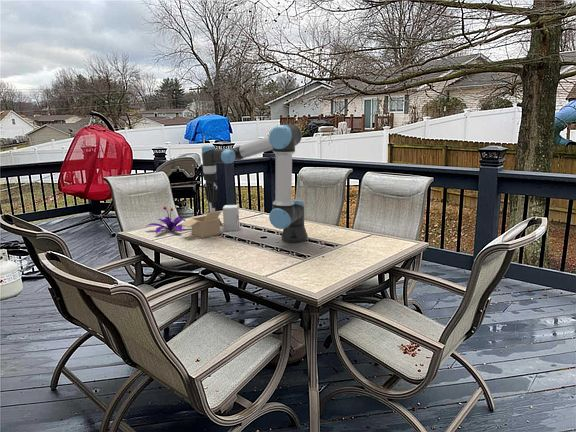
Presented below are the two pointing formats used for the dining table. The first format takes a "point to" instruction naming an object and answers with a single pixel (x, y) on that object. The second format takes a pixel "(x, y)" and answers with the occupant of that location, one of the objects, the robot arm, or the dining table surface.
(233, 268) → the dining table surface
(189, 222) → the flap left
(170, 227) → the decorative flower
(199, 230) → the carton
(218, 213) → the flap near
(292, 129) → the robot arm
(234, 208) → the supplement box
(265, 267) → the dining table surface
